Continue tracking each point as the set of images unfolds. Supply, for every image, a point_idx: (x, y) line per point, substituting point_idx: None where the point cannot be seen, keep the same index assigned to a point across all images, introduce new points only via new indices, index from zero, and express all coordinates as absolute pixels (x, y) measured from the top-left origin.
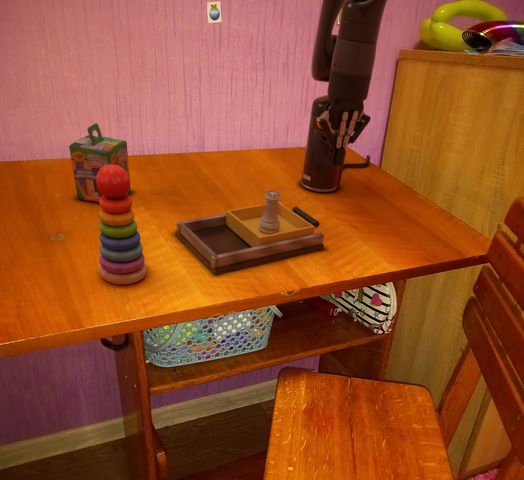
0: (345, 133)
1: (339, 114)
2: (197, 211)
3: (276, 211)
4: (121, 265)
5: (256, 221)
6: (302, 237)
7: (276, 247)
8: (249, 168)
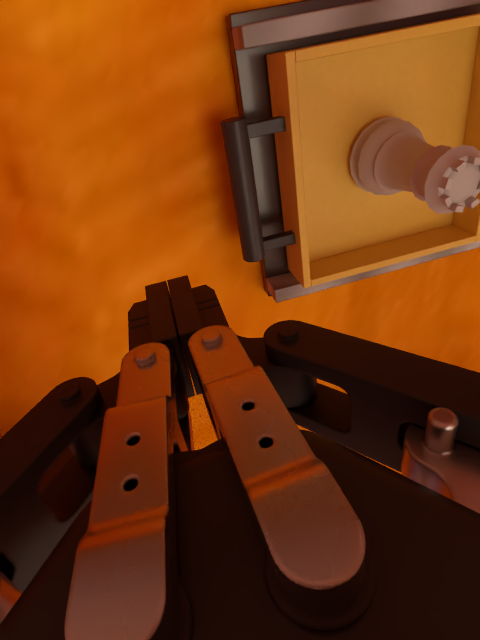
0: (172, 416)
1: (367, 544)
2: (438, 326)
3: (413, 150)
4: None
5: (380, 220)
6: (337, 24)
7: None
8: None
